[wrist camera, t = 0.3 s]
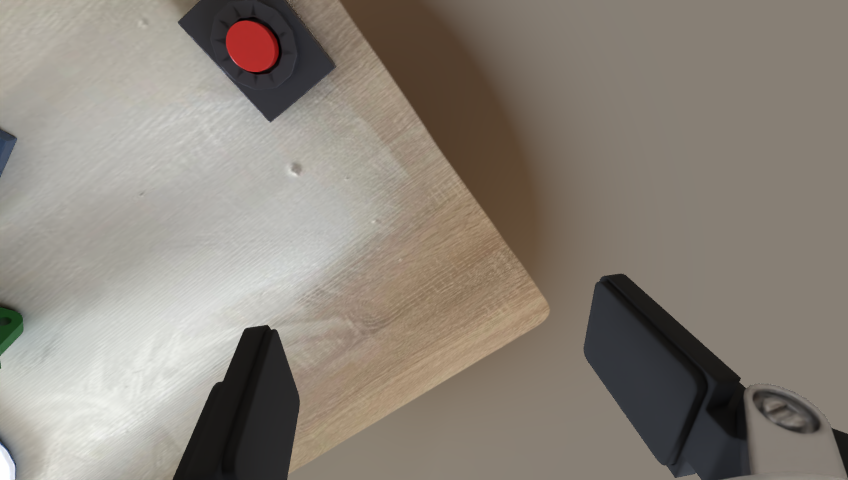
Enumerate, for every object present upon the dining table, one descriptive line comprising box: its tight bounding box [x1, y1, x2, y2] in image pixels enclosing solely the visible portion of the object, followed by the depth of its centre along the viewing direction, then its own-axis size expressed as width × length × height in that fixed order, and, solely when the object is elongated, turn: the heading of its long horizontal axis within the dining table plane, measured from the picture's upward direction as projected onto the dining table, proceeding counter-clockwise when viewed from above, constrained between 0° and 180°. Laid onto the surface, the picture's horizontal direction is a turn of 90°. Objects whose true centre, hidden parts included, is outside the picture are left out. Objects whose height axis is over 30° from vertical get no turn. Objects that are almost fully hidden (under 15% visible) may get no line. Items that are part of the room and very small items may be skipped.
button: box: [226, 21, 279, 72], centre depth 30 cm, size 4×4×2 cm
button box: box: [178, 0, 336, 122], centre depth 32 cm, size 10×8×4 cm
